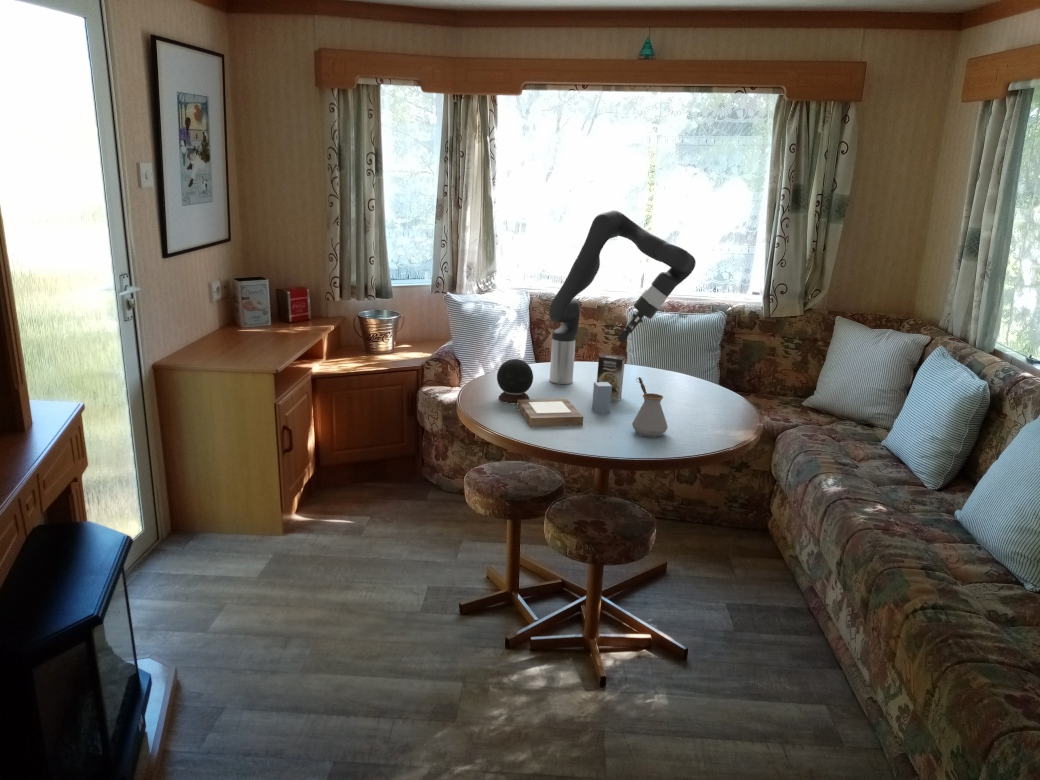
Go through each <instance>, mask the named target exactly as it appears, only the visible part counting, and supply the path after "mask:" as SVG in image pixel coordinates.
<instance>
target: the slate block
mask: <svg viewBox="0 0 1040 780" xmlns="http://www.w3.org/2000/svg"><path fill="white" fill-rule="evenodd" d="M611 393H612V385H610V384H609V383H608V382H597V381H595V382H594V381H593V390H592V401H591V402H592V405H591V410H592V411H593V412H594V413H595V414H598V415H599V414H600V415H601V414H610V413H611V404H612V403H611V402H612V401H611Z"/></svg>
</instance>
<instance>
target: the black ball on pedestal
mask: <svg viewBox="0 0 1040 780" xmlns="http://www.w3.org/2000/svg"><path fill="white" fill-rule="evenodd" d="M496 381H497V384H498V387H499V388H500V389H501V390H502V391H503V392H500V394H499V396H498V400H499V401H500V400H501V401H500V402H502V401H503V402H502V403H504V402H508V403H507V404H509V403H518V400H527V399H530V397H529V395H528V394H527V393H526V392H527V391H528V390H529V389H530V388H531V387H532V385H533V381H534V373H533V370H532V368H531V366H530V365H529V364H528V363H527V362H525V360H522V359H518V358H513V359H509V360H506V361H505V362H503V363H501V365H500V366H499V368H498V370H497V373H496Z"/></svg>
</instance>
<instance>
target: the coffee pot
mask: <svg viewBox="0 0 1040 780" xmlns="http://www.w3.org/2000/svg"><path fill="white" fill-rule="evenodd" d="M637 380H638V381H637ZM635 381H636V383H639V384H640V388H641V390H642V392H643V395H642V397H643V400H644V401H643V403H642V405H641V406H640V408H639V410H638V412H637V414H636V416H634V419H633V421H632V423H631V424H632V427H633V430H634V431H635V432H636V433H637V435H640V436H641V437H645V438H659V437H660V436H661V435H663V434H665V432H666V431H667V430H668V423H667V420H666V417H665V413H664V411H663V407H662V405H661V402H662V400H663V398H664V396H663V395H661V394H658V393H648V392H647V390H646V386H645V384H644V382H643V378H642V377H640V376H639V377H637V378H635Z"/></svg>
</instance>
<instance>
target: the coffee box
mask: <svg viewBox="0 0 1040 780" xmlns="http://www.w3.org/2000/svg"><path fill="white" fill-rule="evenodd" d="M597 363H598V364H597V374H596V375H597V377H596V382H608V383H609V384H610V385H612V393H611V402H612V401H613V402H619V401H620V400H621V399H622V392H623V383H624V373H625V364H626V356H624V355H623V356H622V355H616V354H607V353H601V354H600V355H599V357H598V362H597Z"/></svg>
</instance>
